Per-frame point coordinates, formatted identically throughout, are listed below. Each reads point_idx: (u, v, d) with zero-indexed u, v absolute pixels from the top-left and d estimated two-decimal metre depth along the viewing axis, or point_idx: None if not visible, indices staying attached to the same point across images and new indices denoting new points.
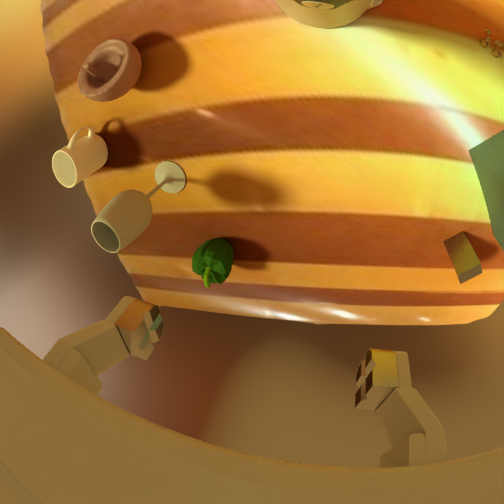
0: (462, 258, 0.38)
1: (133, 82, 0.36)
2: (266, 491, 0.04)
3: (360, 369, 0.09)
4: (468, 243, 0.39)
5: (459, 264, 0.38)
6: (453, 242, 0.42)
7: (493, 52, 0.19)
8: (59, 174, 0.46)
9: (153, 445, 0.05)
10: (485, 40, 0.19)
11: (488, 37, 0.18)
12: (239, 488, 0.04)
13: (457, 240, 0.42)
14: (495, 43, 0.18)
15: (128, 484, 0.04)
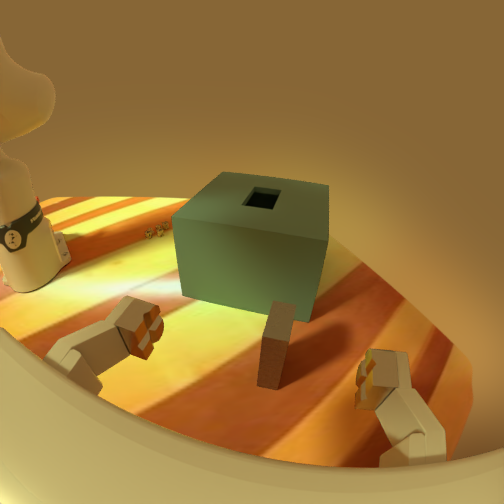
0: None
1: None
2: (266, 491, 0.04)
3: (360, 369, 0.09)
4: None
5: None
6: None
7: (158, 234, 0.57)
8: None
9: (153, 445, 0.05)
10: (146, 231, 0.56)
11: (150, 231, 0.58)
12: (239, 488, 0.04)
13: None
14: (156, 229, 0.59)
15: (128, 484, 0.04)
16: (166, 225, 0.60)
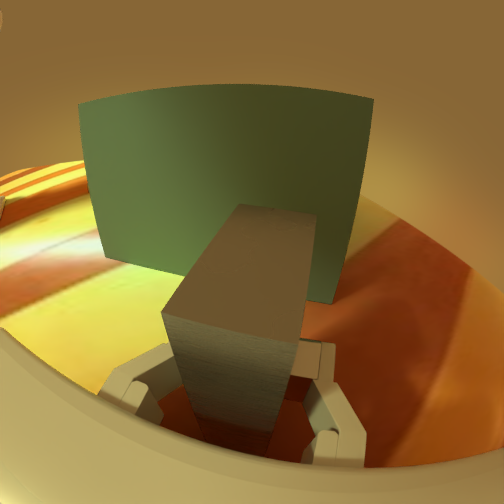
0: None
1: None
2: (266, 491, 0.04)
3: None
4: None
5: None
6: None
7: None
8: None
9: (153, 445, 0.05)
10: None
11: None
12: (239, 488, 0.04)
13: None
14: None
15: (128, 484, 0.04)
16: None
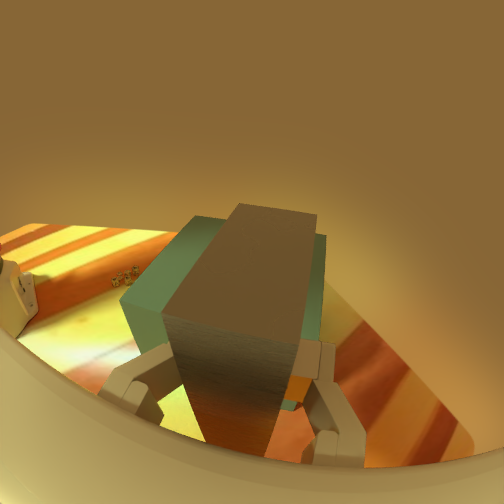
0: None
1: None
2: (266, 491, 0.04)
3: None
4: None
5: None
6: None
7: (125, 282, 0.48)
8: None
9: (153, 445, 0.05)
10: (112, 278, 0.48)
11: (119, 277, 0.50)
12: (239, 488, 0.04)
13: None
14: (125, 275, 0.50)
15: (128, 484, 0.04)
16: (136, 271, 0.51)
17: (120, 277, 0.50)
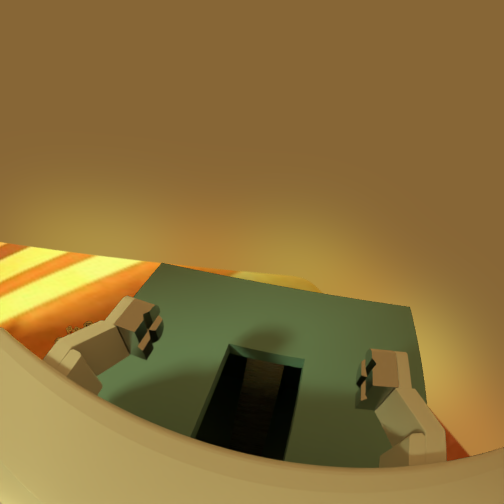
0: None
1: None
2: (266, 491, 0.04)
3: (360, 369, 0.09)
4: None
5: None
6: None
7: None
8: None
9: (153, 445, 0.05)
10: (57, 339, 0.28)
11: None
12: (239, 488, 0.04)
13: None
14: None
15: (128, 484, 0.04)
16: None
17: None
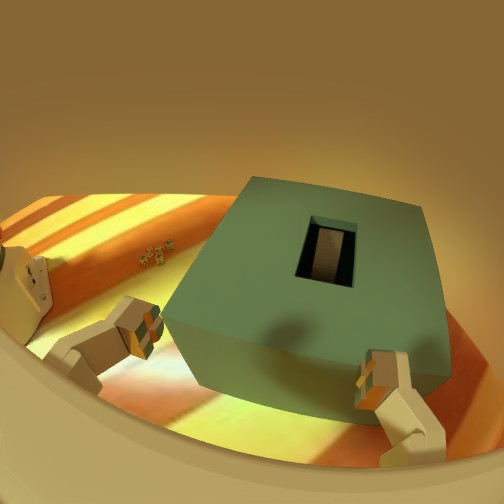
0: None
1: None
2: (266, 491, 0.04)
3: (360, 369, 0.09)
4: None
5: None
6: None
7: (156, 261, 0.41)
8: None
9: (153, 445, 0.05)
10: (140, 256, 0.41)
11: (149, 253, 0.43)
12: (239, 488, 0.04)
13: None
14: (157, 252, 0.42)
15: (128, 485, 0.04)
16: (170, 246, 0.43)
17: (150, 254, 0.42)
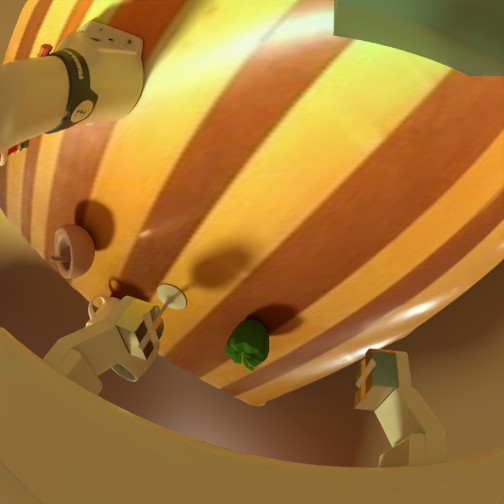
0: None
1: (87, 249, 0.50)
2: (266, 491, 0.04)
3: (360, 369, 0.09)
4: None
5: None
6: None
7: None
8: None
9: (153, 445, 0.05)
10: None
11: None
12: (239, 488, 0.04)
13: None
14: None
15: (128, 485, 0.04)
16: None
17: None
